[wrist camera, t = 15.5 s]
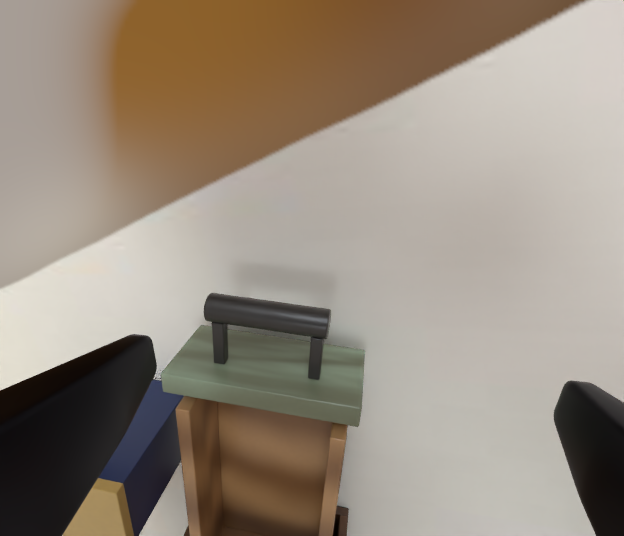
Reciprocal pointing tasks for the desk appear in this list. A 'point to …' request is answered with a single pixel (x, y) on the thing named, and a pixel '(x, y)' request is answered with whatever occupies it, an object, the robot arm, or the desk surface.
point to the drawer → (263, 419)
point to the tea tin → (134, 471)
